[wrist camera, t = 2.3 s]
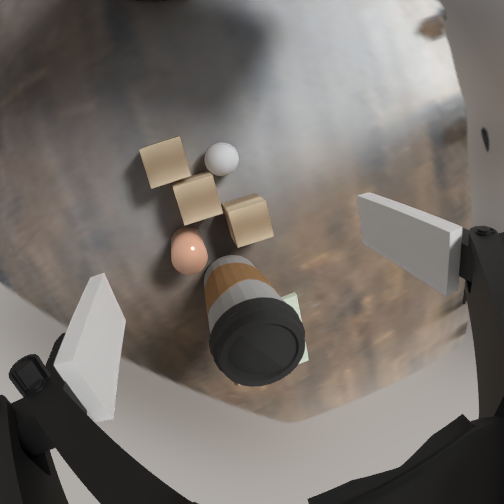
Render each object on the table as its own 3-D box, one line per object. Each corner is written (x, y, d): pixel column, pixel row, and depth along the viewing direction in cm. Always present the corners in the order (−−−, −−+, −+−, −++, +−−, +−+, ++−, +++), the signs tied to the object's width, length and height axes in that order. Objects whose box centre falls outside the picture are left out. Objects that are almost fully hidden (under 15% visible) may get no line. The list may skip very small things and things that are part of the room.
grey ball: (199, 147, 33) (202, 148, 30) (230, 138, 33) (237, 138, 30) (207, 177, 34) (211, 182, 31) (238, 168, 35) (245, 172, 32)
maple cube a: (142, 147, 32) (139, 149, 28) (178, 136, 32) (179, 136, 28) (153, 182, 33) (151, 188, 29) (188, 171, 34) (191, 175, 30)
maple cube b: (172, 181, 34) (172, 187, 30) (207, 170, 34) (212, 175, 30) (182, 215, 35) (184, 225, 32) (217, 204, 36) (223, 213, 32)
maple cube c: (221, 203, 36) (228, 212, 32) (255, 193, 36) (265, 200, 33) (230, 236, 37) (237, 247, 34) (263, 225, 38) (274, 236, 34)
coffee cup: (228, 319, 41) (259, 402, 28) (180, 280, 38) (191, 361, 24) (276, 275, 41) (328, 345, 27) (231, 230, 37) (269, 290, 24)
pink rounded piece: (166, 232, 35) (166, 247, 31) (197, 222, 36) (201, 235, 31) (176, 260, 37) (178, 279, 32) (206, 251, 37) (211, 268, 33)
